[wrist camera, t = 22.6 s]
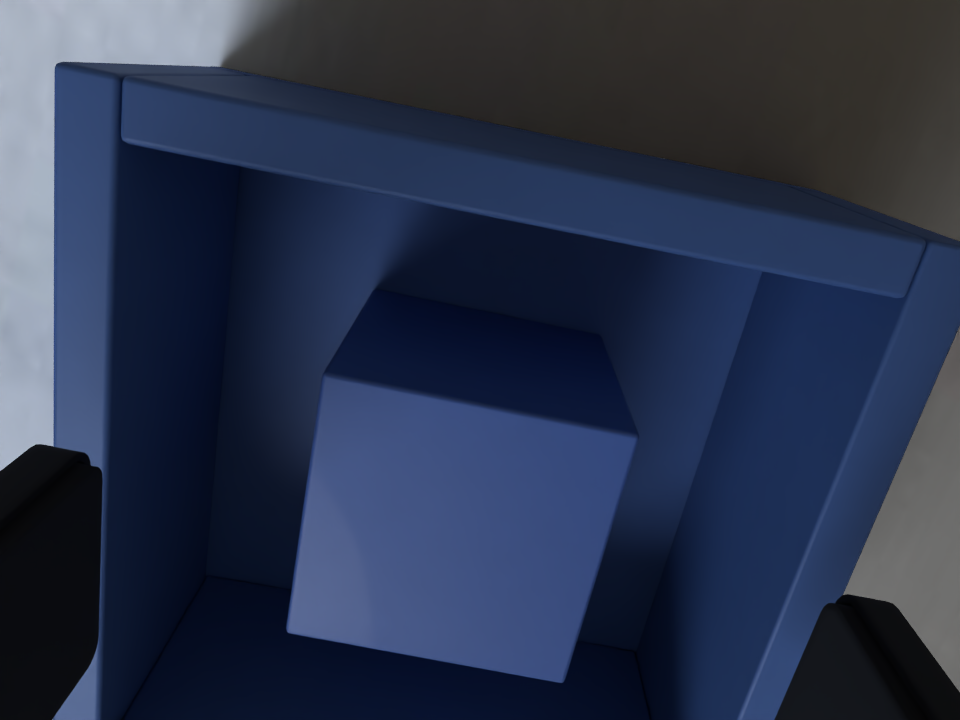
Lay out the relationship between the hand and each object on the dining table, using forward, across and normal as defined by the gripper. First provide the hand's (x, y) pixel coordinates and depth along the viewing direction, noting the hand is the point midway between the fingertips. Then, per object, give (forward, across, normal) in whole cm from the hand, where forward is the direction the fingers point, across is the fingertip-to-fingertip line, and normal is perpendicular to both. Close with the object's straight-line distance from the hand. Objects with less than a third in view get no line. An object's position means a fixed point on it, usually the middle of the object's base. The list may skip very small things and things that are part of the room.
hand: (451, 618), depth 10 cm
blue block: (+6, 0, 0) cm, 6 cm away
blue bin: (+7, 0, 0) cm, 7 cm away
